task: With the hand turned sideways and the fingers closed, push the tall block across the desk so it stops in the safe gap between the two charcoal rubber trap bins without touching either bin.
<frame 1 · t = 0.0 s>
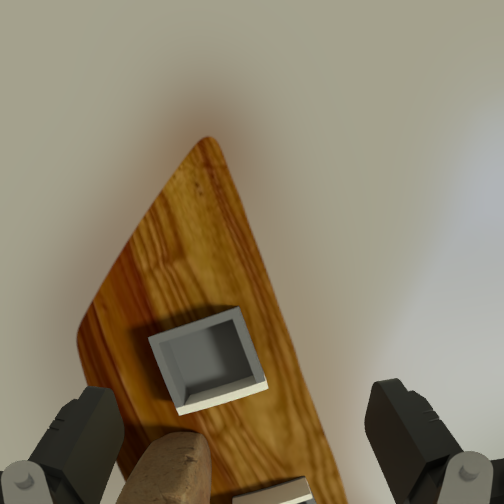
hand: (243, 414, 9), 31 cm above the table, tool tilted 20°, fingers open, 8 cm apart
trap bins: (248, 443, 38), on the table
block: (187, 458, 37), on the table
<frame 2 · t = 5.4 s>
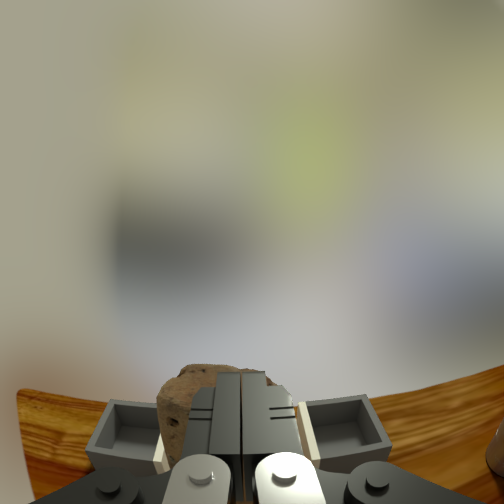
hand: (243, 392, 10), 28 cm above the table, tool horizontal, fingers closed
trap bins: (237, 456, 36), on the table
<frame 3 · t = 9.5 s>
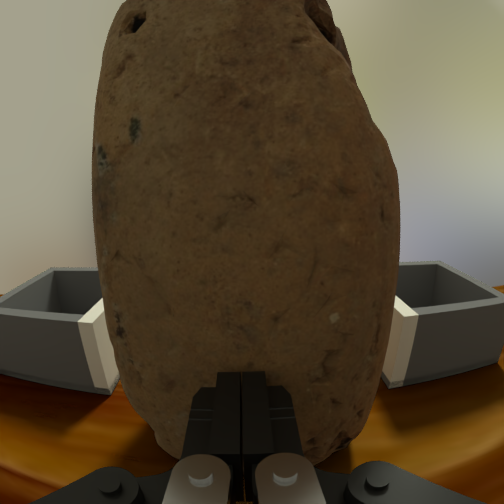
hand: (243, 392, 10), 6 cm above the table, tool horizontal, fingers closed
trap bins: (248, 353, 22), on the table
block: (252, 431, 15), on the table
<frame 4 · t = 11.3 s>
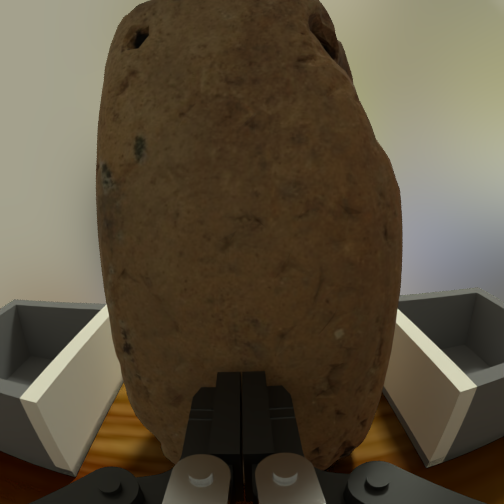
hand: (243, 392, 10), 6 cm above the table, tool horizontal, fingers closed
trap bins: (248, 420, 16), on the table
block: (256, 440, 15), on the table, touching gripper
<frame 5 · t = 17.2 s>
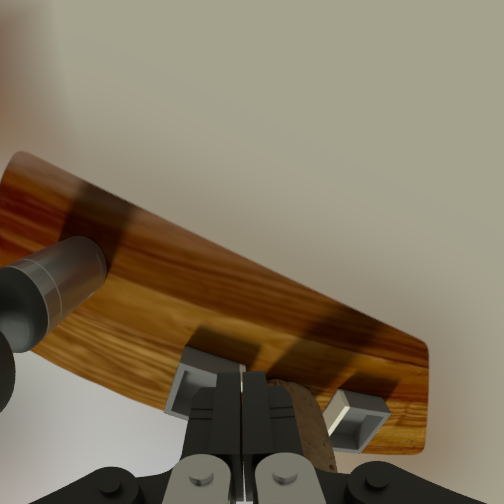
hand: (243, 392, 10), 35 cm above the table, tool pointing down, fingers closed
trap bins: (280, 401, 51), on the table
block: (282, 394, 51), on the table
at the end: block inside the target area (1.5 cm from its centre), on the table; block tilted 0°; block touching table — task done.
